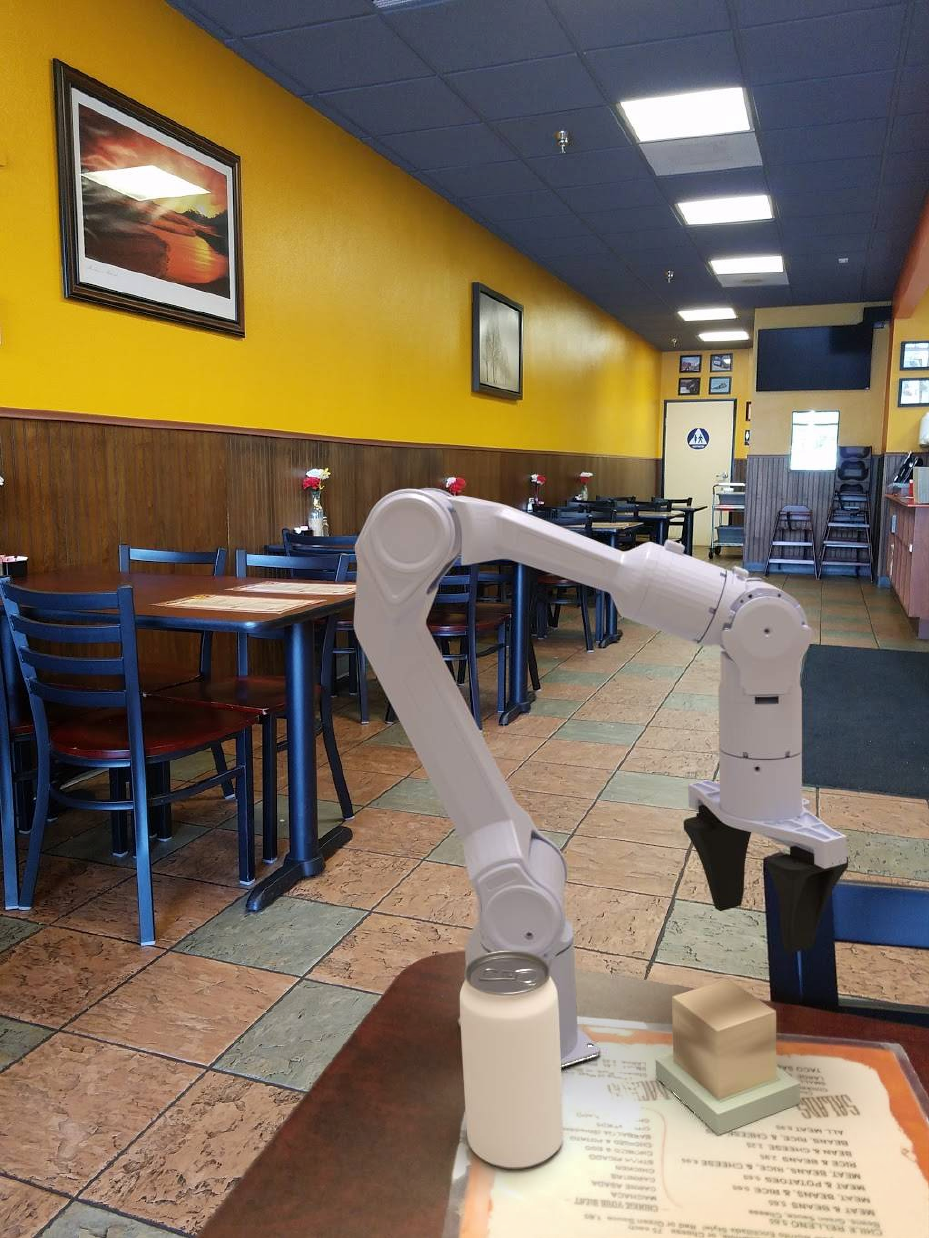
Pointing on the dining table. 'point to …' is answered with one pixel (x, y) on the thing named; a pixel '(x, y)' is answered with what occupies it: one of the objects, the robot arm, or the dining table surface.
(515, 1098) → the can
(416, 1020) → the dining table surface
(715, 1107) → the base
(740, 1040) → the block
